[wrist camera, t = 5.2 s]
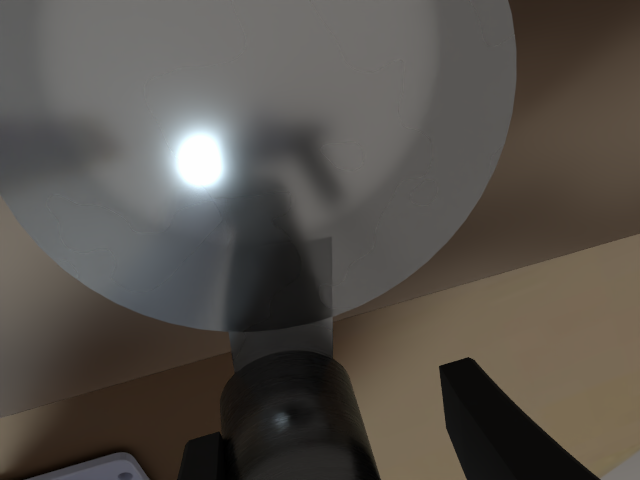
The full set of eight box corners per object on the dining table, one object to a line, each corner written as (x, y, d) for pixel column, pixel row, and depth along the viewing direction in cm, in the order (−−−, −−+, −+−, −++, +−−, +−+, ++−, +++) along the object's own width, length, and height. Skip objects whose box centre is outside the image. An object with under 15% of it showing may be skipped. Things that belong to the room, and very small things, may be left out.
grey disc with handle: (-74, -184, 7) (-510, -256, 3) (491, -189, 9) (844, -245, 4) (117, 392, 14) (81, 659, 9) (425, 344, 15) (530, 560, 10)
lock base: (601, 199, 18) (676, 262, 16) (4, 370, 18) (-32, 468, 15) (695, -620, 9) (925, -836, 6) (-567, -332, 8) (-959, -431, 5)
